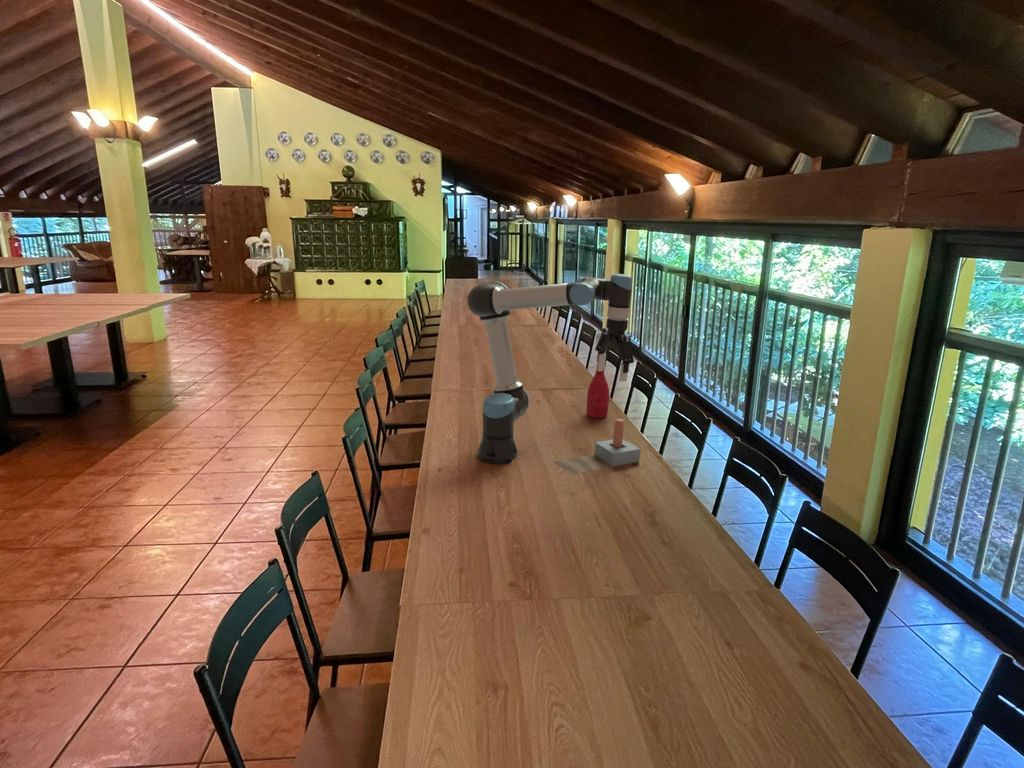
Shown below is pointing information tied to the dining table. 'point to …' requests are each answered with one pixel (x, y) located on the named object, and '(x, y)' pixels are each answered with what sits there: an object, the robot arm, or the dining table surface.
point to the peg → (618, 433)
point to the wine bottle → (598, 396)
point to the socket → (617, 452)
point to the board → (584, 464)
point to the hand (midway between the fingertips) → (611, 375)
